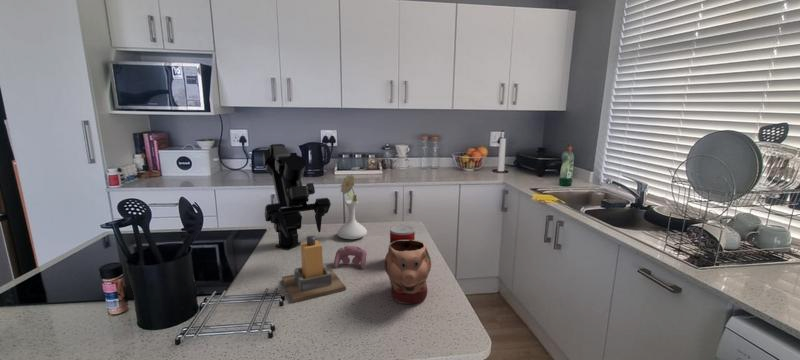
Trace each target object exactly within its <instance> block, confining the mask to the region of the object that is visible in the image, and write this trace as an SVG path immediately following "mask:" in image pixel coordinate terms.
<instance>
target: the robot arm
mask: <svg viewBox="0 0 800 360" xmlns="http://www.w3.org/2000/svg"><path fill="white" fill-rule="evenodd" d="M262 155H263V156H262V161H263V162H262V163H263V166H264V167H265V171H266V172H267V173H268V174H269V175H271V177H272V180H273V181H272V183H273V186H274V191H275V197H276V200H277V203H269V204H268V203H267V204H266V205H265V208H264V217H265V222H270V223H271V224H273V230H274V231H275V232H276V233H277V236H278V238H277V239H278V243H277V244H275V247H277V248H281V249H285V250H290V249H293V248H295V247H297V246H299V245H300V246H301V243H302V242H301V241H299V234H298V230H301V228H302V220H303V216H302V214H301V212H308V211H314V220H315V225H316V229H317V232H318V233H321V230H322V219H323V217H324V216H325V215H326V214H327V213H329V210H330V208H331V205H332V204H331V200H330V199H329V198H328V197H321V198H320V197H319V198H316V199H315V201H314V203H308V202H309V200H310V199H309V197H310V195H314V194H315V193H316V190H315V188H316V187H315V185H314V183H313V182H308V183H306V185H303V182H302V179H303V176H304V172H305V169H306V166H307V165H306V163H307V162H306V160H305V159H304V158H303V157H302V156H300V155H298V152H289V151H288V149H286V146H285V144H283V143H273V144H269V148H267V149H266V150H265V151H264V152H263V154H262Z"/></svg>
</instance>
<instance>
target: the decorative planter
mask: <svg viewBox="0 0 800 360" xmlns="http://www.w3.org/2000/svg"><path fill="white" fill-rule="evenodd" d="M387 249H388V250H387V253H386V255H385V258H384V270H385V272H386V274H387V276H388V278H389V282H390V286H391V290H390V294H391V298H392V299H393V300H394V301H395V302H398V303H400V304H417V303H421V302H424V301H425V300H426V298H427V296H428V285H427V279H428V277H429V274H430V271H431V269H432V259H431V256H430V254H429V252H428V249H427V246H426V244H425V243H424V242H423V241H421V240H416V239H415V240H398V241H394V242H392V243H391V244H390V243H389V245H388V248H387Z"/></svg>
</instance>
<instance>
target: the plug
mask: <svg viewBox="0 0 800 360" xmlns="http://www.w3.org/2000/svg"><path fill="white" fill-rule="evenodd" d="M300 255H301V257H300V258H301V267H302V277H303V279H307V278H311V277H316V276H320V275H323V264H324V262H323V261H324V260H323V245H322V244H321V243H320V242H319V240H317V239H316V236H314V235H309V236H307V237H306V241H304V242H301V244H300Z"/></svg>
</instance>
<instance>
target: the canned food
mask: <svg viewBox="0 0 800 360" xmlns="http://www.w3.org/2000/svg"><path fill="white" fill-rule="evenodd" d="M415 232H416V231H415V228H414V227H413V226H412V225H406V224H405V225H404V224H399V225H394V226H392V227H391V228H390V231H389V245H390V244H391V243H392V242H394V241H398V240H416V239H415V234H416V233H415Z"/></svg>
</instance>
